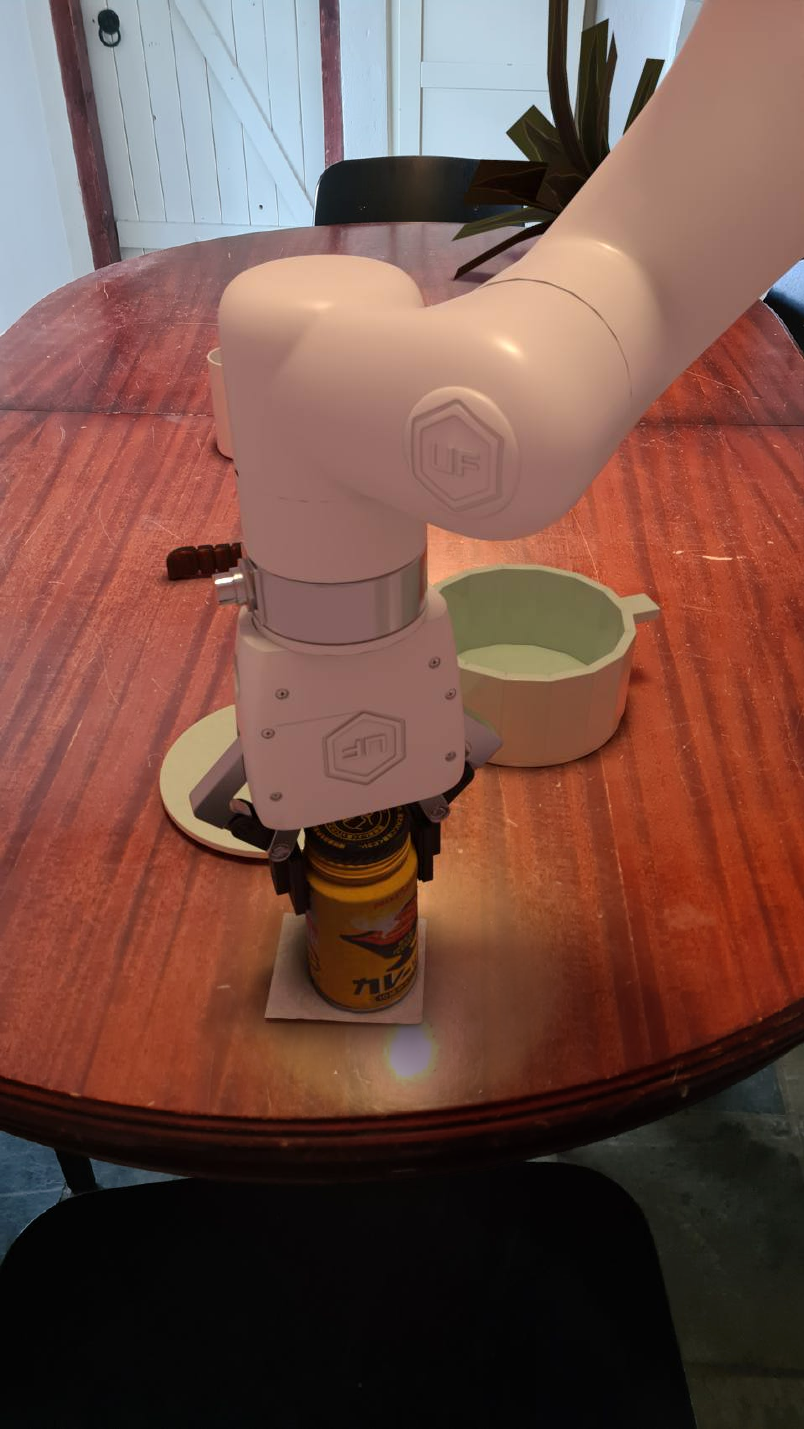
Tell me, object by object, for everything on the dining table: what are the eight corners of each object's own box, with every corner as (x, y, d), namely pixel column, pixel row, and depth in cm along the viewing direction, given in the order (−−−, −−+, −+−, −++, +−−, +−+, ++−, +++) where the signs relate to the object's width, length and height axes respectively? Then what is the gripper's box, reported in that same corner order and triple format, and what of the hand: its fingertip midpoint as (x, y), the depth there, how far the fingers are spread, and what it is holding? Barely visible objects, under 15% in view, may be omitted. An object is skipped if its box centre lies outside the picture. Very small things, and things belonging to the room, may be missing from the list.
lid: (437, 830, 67) (439, 757, 64) (183, 892, 63) (168, 817, 59) (362, 689, 80) (360, 621, 76) (146, 733, 76) (132, 663, 72)
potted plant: (737, 137, 170) (525, -31, 158) (862, 94, 134) (599, -127, 122) (585, 383, 182) (377, 245, 170) (662, 404, 146) (405, 231, 134)
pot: (693, 733, 75) (711, 647, 71) (422, 796, 70) (423, 708, 65) (594, 624, 87) (604, 545, 83) (356, 671, 82) (352, 589, 77)
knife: (353, 561, 96) (351, 532, 94) (354, 565, 95) (353, 536, 93) (169, 576, 94) (164, 546, 92) (168, 581, 93) (164, 551, 91)
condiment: (422, 1025, 55) (421, 866, 48) (264, 1019, 56) (240, 861, 48) (426, 921, 61) (427, 765, 54) (284, 916, 61) (265, 761, 54)
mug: (283, 462, 114) (275, 367, 107) (212, 461, 114) (200, 366, 108) (296, 420, 123) (290, 330, 117) (230, 419, 124) (221, 330, 117)
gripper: (143, 666, 38) (207, 978, 49) (564, 585, 43) (537, 888, 54) (120, 573, 44) (182, 871, 55) (493, 509, 48) (482, 797, 59)
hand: (357, 877), depth 54 cm, fingers closed on condiment, 6 cm apart
